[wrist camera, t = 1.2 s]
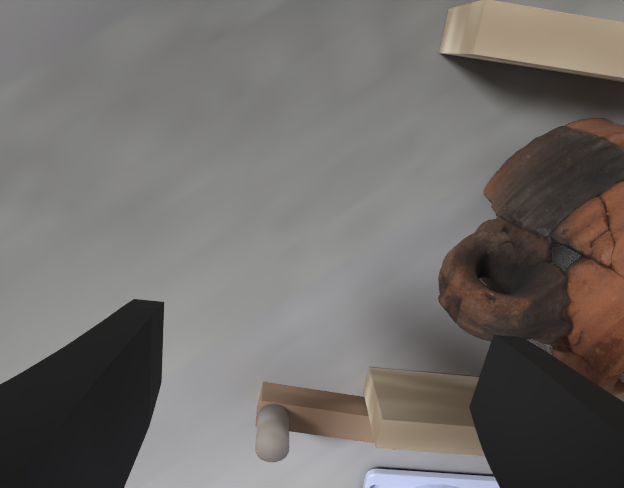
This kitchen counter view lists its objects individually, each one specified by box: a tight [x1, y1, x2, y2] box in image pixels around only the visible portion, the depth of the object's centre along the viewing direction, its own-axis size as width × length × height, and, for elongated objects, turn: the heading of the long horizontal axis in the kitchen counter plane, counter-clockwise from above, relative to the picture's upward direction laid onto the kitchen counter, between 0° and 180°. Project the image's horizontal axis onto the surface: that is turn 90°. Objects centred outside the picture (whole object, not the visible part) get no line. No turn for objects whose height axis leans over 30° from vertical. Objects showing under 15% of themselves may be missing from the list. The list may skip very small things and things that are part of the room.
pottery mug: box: [438, 118, 624, 396], centre depth 19 cm, size 12×10×8 cm
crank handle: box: [256, 382, 375, 462], centre depth 22 cm, size 6×2×4 cm, turn 77°
